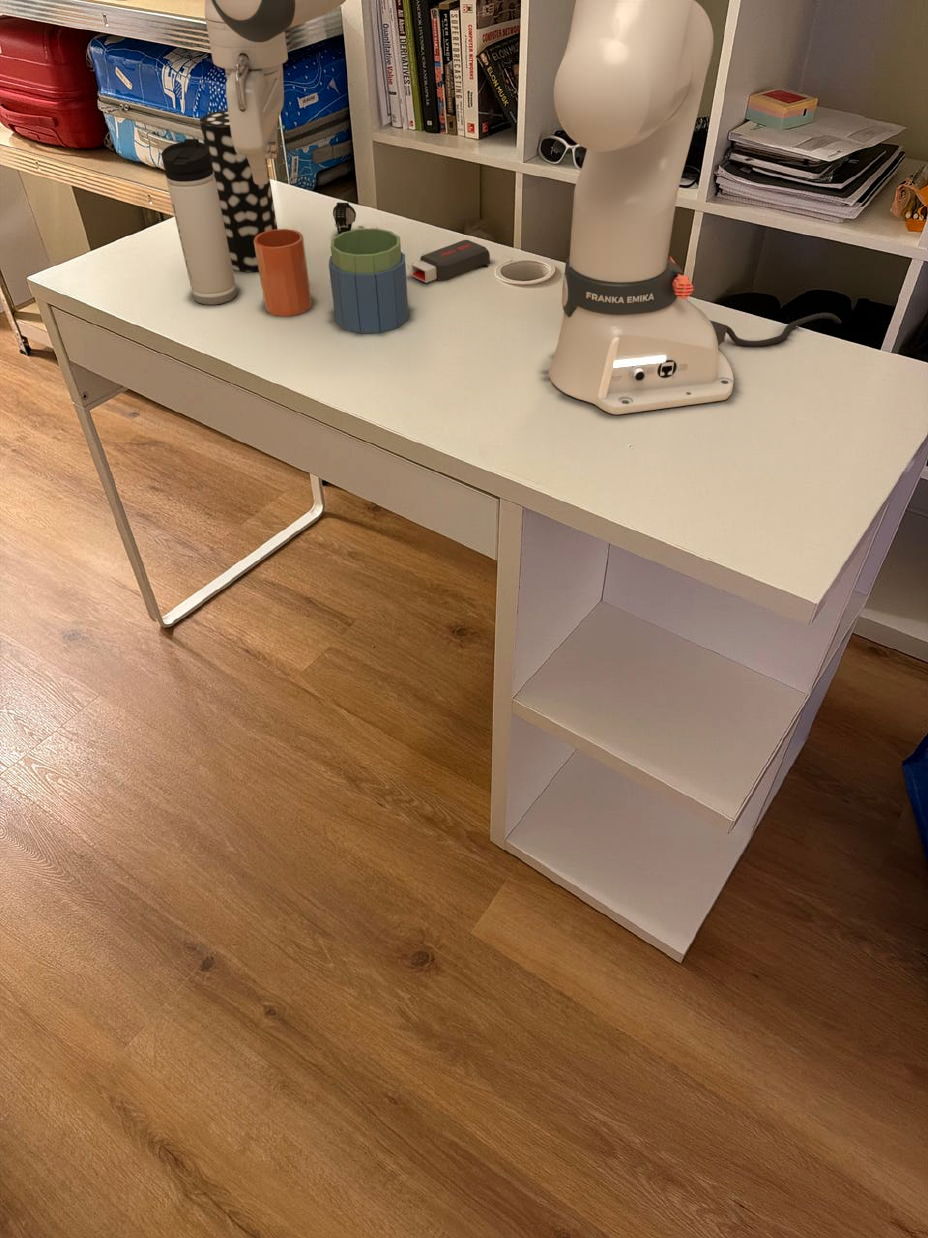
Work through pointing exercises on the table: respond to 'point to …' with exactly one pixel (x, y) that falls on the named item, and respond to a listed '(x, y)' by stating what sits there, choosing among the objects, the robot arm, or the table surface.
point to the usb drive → (450, 261)
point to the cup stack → (368, 280)
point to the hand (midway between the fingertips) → (267, 169)
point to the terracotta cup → (283, 271)
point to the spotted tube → (237, 193)
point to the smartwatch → (344, 217)
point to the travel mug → (199, 221)
